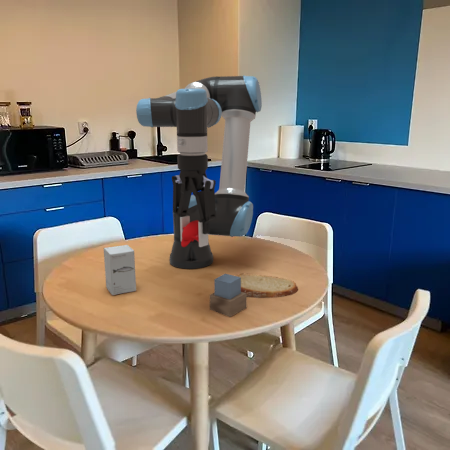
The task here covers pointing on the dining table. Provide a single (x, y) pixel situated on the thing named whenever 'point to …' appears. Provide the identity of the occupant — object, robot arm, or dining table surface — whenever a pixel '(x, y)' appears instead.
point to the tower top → (227, 286)
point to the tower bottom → (228, 304)
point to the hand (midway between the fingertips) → (194, 242)
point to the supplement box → (120, 269)
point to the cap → (190, 233)
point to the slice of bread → (266, 286)
